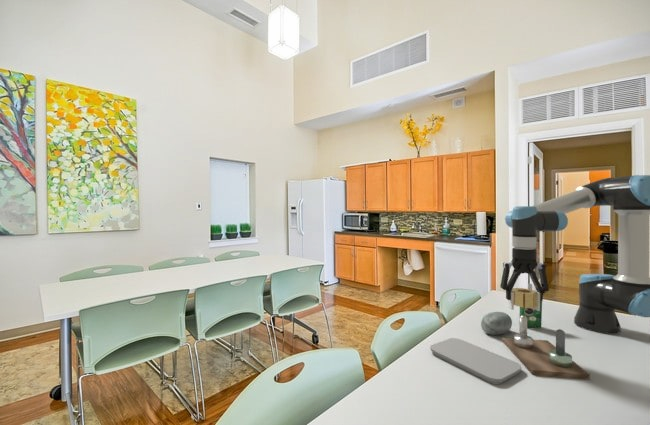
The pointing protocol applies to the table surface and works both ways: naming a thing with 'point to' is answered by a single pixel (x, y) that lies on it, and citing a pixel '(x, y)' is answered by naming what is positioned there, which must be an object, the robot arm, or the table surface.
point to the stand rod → (523, 335)
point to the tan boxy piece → (525, 298)
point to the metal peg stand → (560, 352)
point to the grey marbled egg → (496, 323)
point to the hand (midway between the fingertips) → (523, 309)
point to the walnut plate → (543, 360)
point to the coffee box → (532, 316)
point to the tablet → (476, 360)
